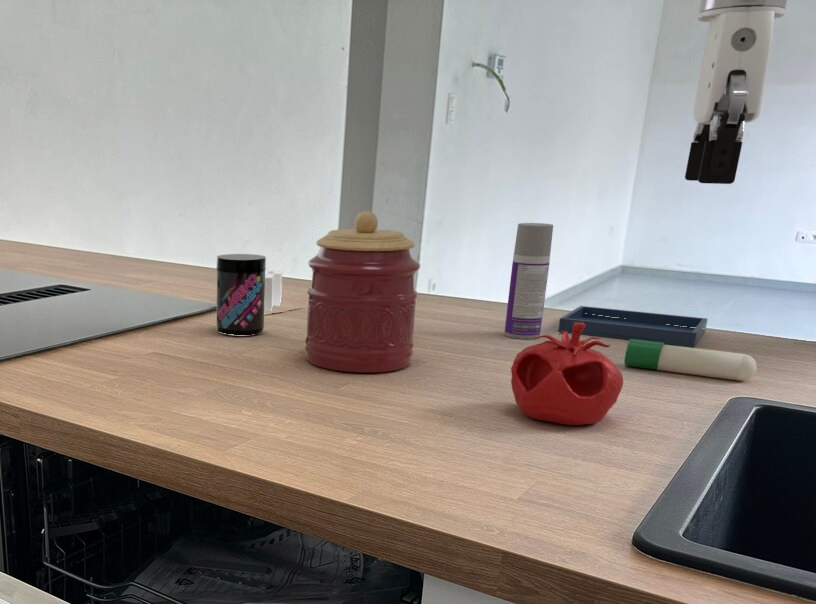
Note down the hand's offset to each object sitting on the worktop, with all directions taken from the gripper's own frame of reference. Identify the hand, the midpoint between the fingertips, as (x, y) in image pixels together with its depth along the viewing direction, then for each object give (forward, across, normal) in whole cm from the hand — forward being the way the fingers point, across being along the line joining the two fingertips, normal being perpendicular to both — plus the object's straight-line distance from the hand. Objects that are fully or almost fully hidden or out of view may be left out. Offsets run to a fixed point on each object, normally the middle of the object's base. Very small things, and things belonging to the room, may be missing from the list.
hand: (707, 181), depth 91 cm
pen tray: (+21, +26, +2) cm, 34 cm away
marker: (+21, +2, -2) cm, 22 cm away
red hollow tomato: (+22, -21, +12) cm, 32 cm away
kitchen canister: (+22, -6, +35) cm, 42 cm away
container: (+22, +18, +17) cm, 32 cm away
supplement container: (+22, +5, +54) cm, 58 cm away
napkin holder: (+22, +27, +56) cm, 66 cm away
